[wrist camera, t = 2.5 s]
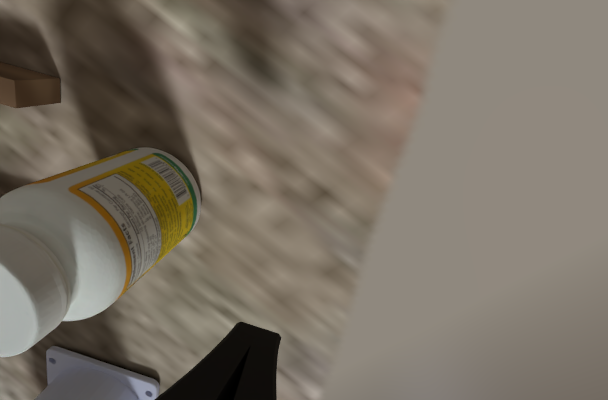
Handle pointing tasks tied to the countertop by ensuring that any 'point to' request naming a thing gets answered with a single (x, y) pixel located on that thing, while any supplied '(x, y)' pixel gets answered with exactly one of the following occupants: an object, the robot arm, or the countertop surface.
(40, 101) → the wooden holder
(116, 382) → the robot arm
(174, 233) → the supplement bottle
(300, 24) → the countertop surface
